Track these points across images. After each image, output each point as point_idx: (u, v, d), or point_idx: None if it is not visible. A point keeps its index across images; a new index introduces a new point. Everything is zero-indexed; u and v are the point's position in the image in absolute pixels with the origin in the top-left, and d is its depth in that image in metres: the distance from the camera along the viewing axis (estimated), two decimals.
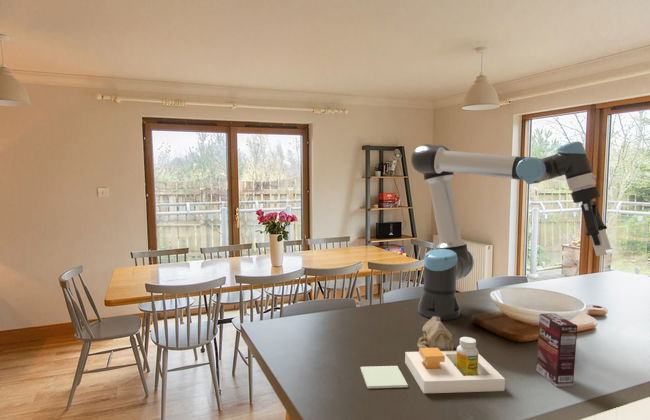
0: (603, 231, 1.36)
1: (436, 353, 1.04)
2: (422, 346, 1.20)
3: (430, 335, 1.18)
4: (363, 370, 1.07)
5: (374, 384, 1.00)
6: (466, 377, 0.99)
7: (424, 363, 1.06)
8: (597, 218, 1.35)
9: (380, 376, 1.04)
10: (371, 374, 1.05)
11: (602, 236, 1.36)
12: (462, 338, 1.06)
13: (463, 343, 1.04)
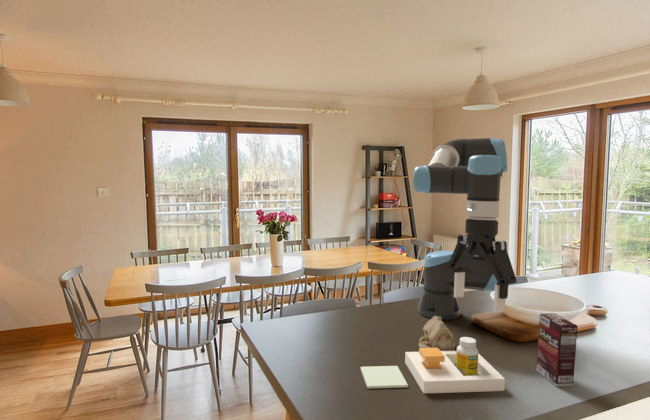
0: None
1: (436, 353, 1.04)
2: (424, 346, 1.20)
3: (432, 335, 1.18)
4: (363, 370, 1.07)
5: (374, 384, 1.00)
6: (466, 377, 0.99)
7: (424, 363, 1.06)
8: None
9: (380, 376, 1.04)
10: (371, 374, 1.05)
11: None
12: (462, 338, 1.06)
13: (463, 343, 1.04)
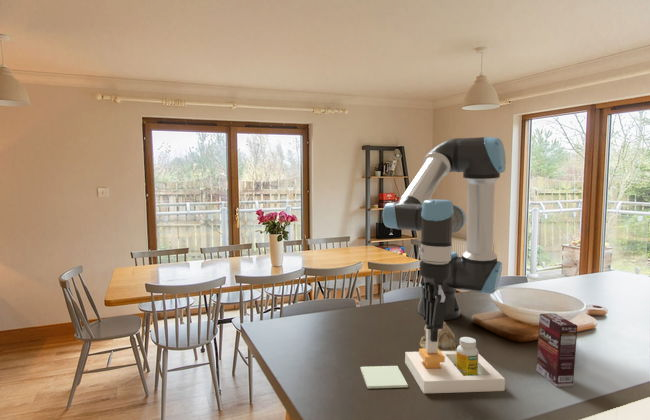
0: None
1: (436, 353, 1.04)
2: (425, 346, 1.20)
3: None
4: (363, 370, 1.07)
5: (374, 384, 1.00)
6: (466, 377, 0.99)
7: (424, 364, 1.06)
8: None
9: (380, 376, 1.04)
10: (371, 374, 1.05)
11: None
12: (462, 338, 1.06)
13: (463, 343, 1.04)
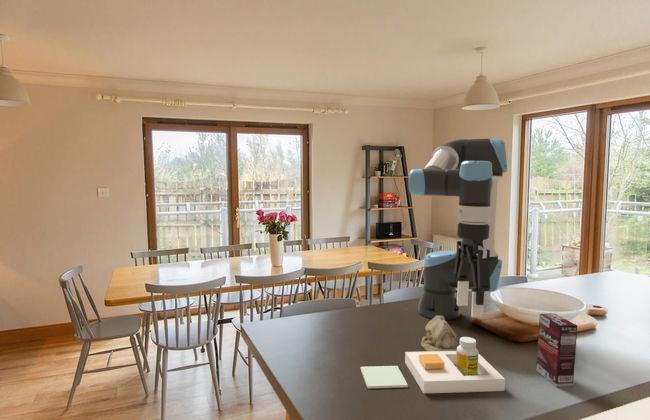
0: None
1: (436, 359, 1.04)
2: (427, 345, 1.21)
3: (436, 334, 1.19)
4: (363, 370, 1.07)
5: (374, 384, 1.00)
6: (466, 377, 0.99)
7: None
8: None
9: (380, 376, 1.04)
10: (371, 374, 1.05)
11: None
12: (462, 338, 1.06)
13: (463, 343, 1.04)
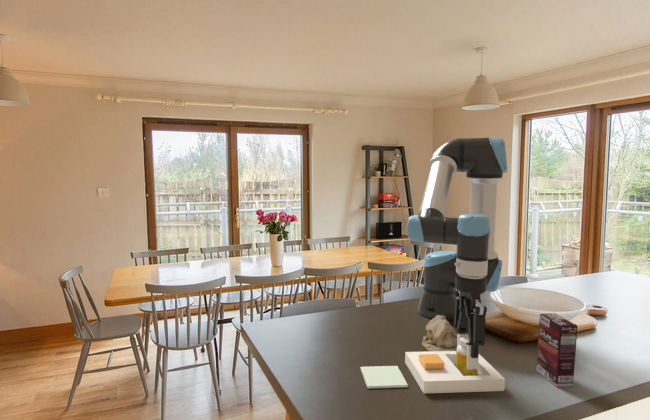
0: None
1: (436, 359, 1.04)
2: (429, 345, 1.21)
3: (437, 334, 1.19)
4: (363, 370, 1.07)
5: (374, 384, 1.00)
6: (466, 377, 0.99)
7: None
8: None
9: (380, 376, 1.04)
10: (371, 374, 1.05)
11: None
12: (462, 338, 1.06)
13: (463, 343, 1.04)
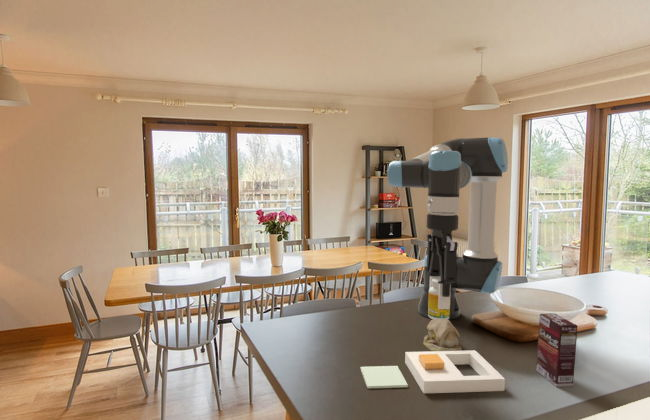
0: None
1: (436, 359, 1.04)
2: (431, 345, 1.21)
3: (439, 333, 1.19)
4: (363, 370, 1.07)
5: (374, 384, 1.00)
6: (466, 377, 0.99)
7: None
8: None
9: (380, 376, 1.04)
10: (371, 374, 1.05)
11: None
12: (434, 279, 1.04)
13: (435, 283, 1.02)
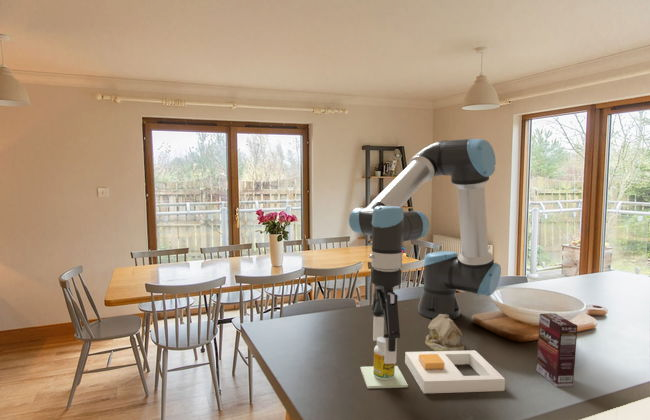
0: None
1: (436, 359, 1.04)
2: (433, 344, 1.21)
3: (442, 333, 1.20)
4: (363, 370, 1.07)
5: (374, 384, 1.00)
6: (466, 377, 0.99)
7: None
8: None
9: None
10: (371, 374, 1.05)
11: None
12: (379, 338, 1.04)
13: (378, 343, 1.02)
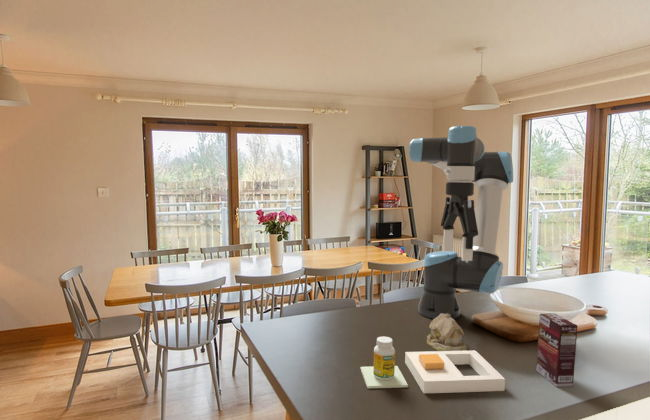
0: None
1: (436, 359, 1.04)
2: (436, 344, 1.22)
3: (445, 332, 1.20)
4: (363, 370, 1.07)
5: (374, 384, 1.00)
6: (466, 377, 0.99)
7: None
8: None
9: None
10: (371, 374, 1.05)
11: None
12: (379, 338, 1.04)
13: (378, 343, 1.02)
